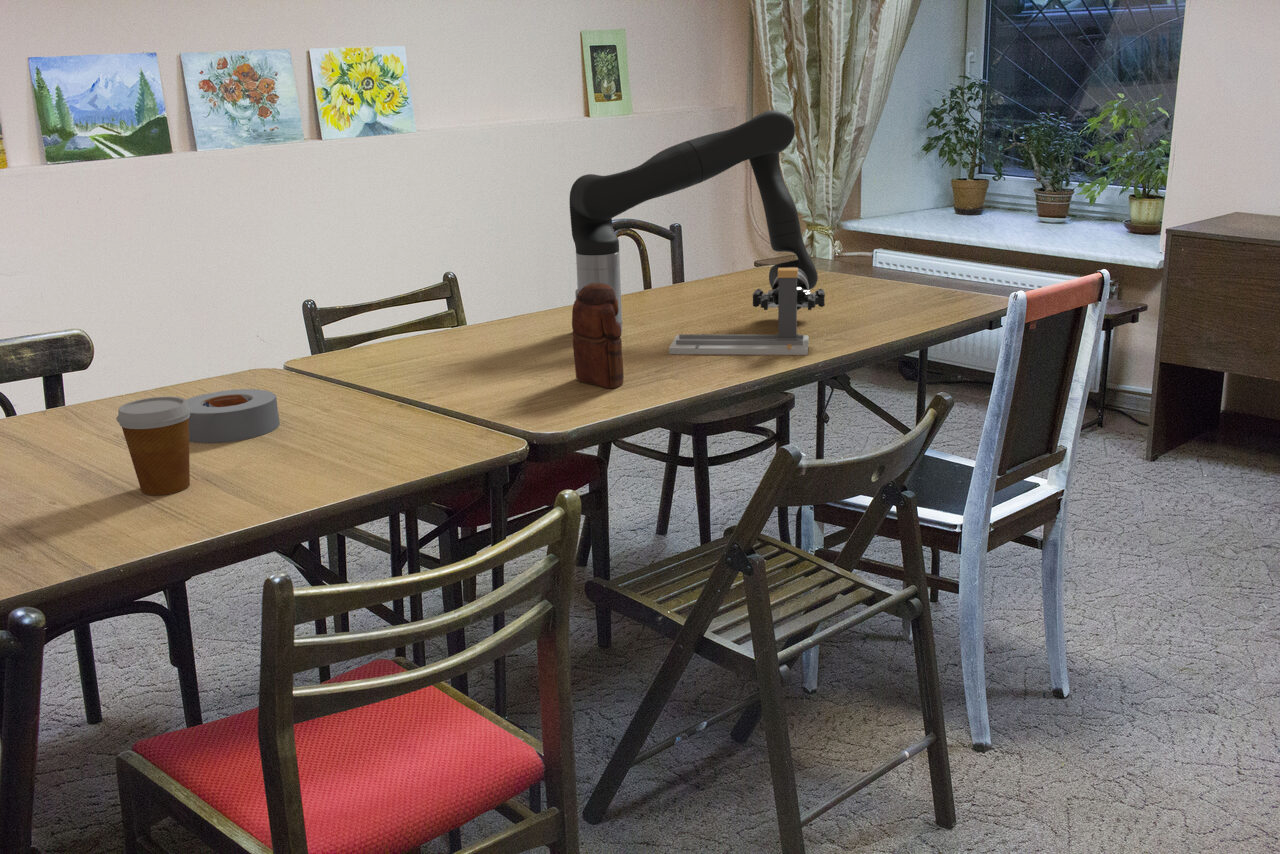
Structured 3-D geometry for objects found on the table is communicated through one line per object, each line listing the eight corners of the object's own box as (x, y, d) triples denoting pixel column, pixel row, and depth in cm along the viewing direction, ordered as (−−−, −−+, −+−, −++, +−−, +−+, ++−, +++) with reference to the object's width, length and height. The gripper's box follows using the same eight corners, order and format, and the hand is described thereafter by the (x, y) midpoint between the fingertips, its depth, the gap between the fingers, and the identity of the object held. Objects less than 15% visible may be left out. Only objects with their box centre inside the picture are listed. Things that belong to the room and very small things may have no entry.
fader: (776, 342, 230) (777, 270, 226) (777, 338, 233) (778, 267, 229) (797, 342, 229) (798, 270, 225) (797, 338, 233) (798, 267, 229)
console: (668, 354, 229) (668, 344, 229) (677, 340, 241) (676, 330, 241) (807, 355, 225) (807, 345, 224) (808, 340, 237) (808, 331, 237)
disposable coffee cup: (113, 496, 159) (98, 411, 156) (163, 474, 168) (150, 393, 164) (168, 503, 156) (154, 416, 152) (217, 480, 164) (205, 398, 161)
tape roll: (180, 424, 193) (175, 394, 192) (276, 412, 198) (272, 383, 197) (181, 449, 179) (176, 418, 178) (283, 436, 185) (279, 405, 183)
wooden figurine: (636, 384, 208) (632, 284, 203) (609, 391, 204) (605, 289, 199) (593, 373, 217) (588, 277, 211) (566, 380, 213) (561, 282, 207)
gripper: (756, 272, 243) (751, 285, 227) (825, 271, 240) (824, 285, 225) (756, 307, 245) (751, 323, 229) (824, 307, 243) (824, 323, 227)
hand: (787, 304), depth 227 cm, fingers open, 8 cm apart
